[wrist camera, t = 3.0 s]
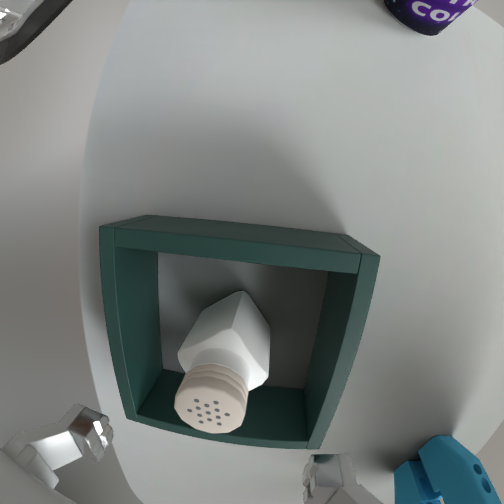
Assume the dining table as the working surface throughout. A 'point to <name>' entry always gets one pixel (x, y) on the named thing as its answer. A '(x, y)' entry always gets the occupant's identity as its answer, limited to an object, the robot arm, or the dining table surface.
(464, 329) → the dining table surface
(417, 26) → the beverage can
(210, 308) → the salt shaker
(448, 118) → the dining table surface
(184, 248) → the bin
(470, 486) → the block
